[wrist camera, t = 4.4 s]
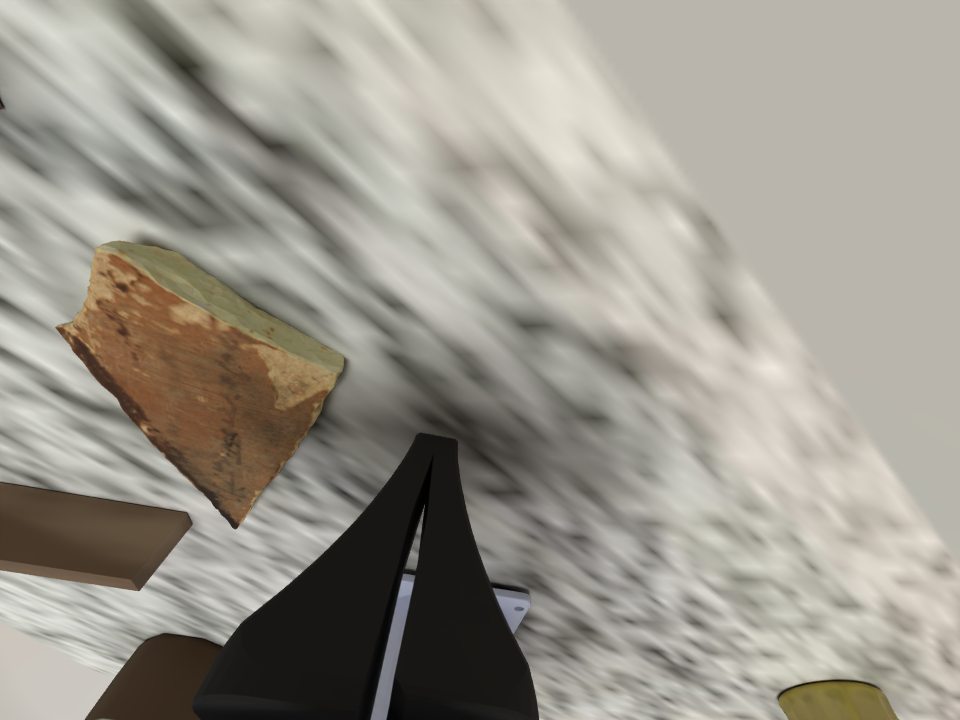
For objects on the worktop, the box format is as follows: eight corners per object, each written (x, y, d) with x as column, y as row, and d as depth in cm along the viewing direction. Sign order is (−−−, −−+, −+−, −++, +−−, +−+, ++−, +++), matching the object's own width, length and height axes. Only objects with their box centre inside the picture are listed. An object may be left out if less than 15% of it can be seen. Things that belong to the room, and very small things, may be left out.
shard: (255, 501, 17) (231, 537, 15) (76, 421, 15) (27, 455, 13) (363, 355, 12) (342, 388, 10) (117, 200, 10) (46, 213, 8)
